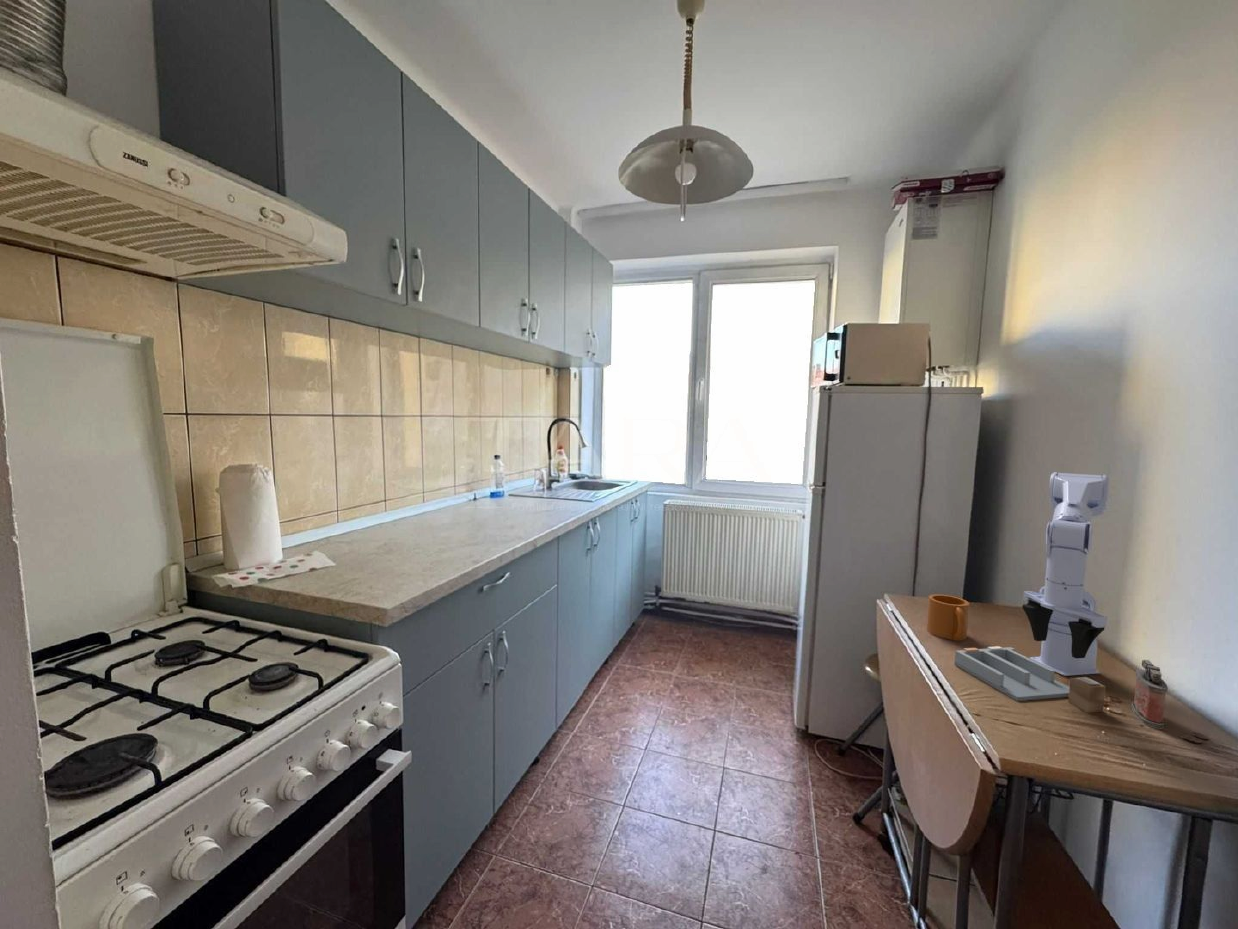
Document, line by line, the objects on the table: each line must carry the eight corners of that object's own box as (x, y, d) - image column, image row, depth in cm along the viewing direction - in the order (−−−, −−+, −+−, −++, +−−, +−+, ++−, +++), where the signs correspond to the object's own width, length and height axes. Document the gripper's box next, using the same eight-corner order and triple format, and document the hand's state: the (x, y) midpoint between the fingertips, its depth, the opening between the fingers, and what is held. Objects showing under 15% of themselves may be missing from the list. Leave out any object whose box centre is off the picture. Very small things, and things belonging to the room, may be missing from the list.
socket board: (1009, 661, 115) (1011, 645, 115) (1079, 695, 101) (1080, 678, 100) (954, 664, 113) (955, 649, 113) (1017, 701, 98) (1018, 682, 98)
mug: (934, 642, 125) (936, 607, 124) (922, 625, 136) (924, 592, 136) (977, 647, 122) (978, 611, 122) (961, 629, 134) (962, 596, 133)
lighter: (1168, 731, 89) (1174, 677, 89) (1141, 724, 91) (1147, 671, 90) (1151, 709, 96) (1157, 659, 95) (1127, 704, 98) (1132, 655, 97)
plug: (1083, 701, 99) (1085, 675, 98) (1102, 711, 95) (1105, 684, 95) (1068, 702, 98) (1070, 676, 98) (1087, 713, 95) (1090, 686, 94)
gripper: (1012, 571, 105) (1007, 634, 106) (1086, 594, 91) (1079, 667, 92) (1042, 570, 106) (1036, 632, 107) (1119, 593, 92) (1111, 665, 93)
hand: (1058, 648), depth 100 cm, fingers open, 7 cm apart
